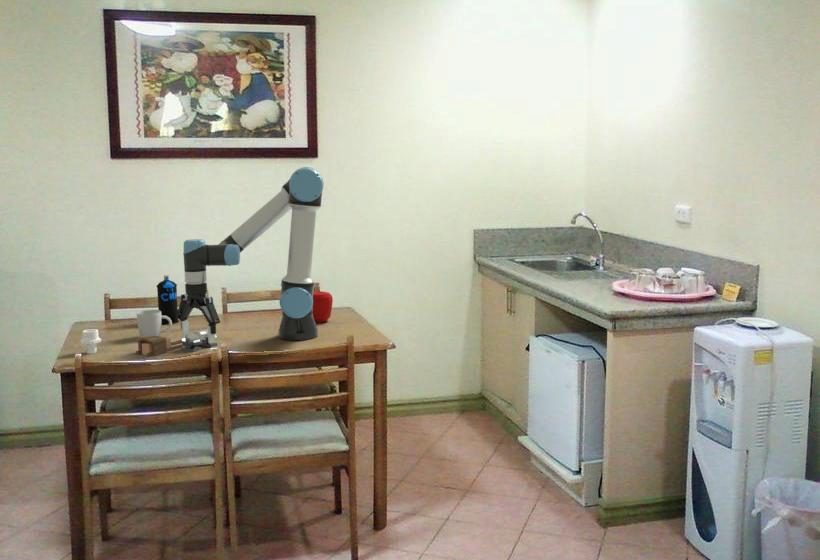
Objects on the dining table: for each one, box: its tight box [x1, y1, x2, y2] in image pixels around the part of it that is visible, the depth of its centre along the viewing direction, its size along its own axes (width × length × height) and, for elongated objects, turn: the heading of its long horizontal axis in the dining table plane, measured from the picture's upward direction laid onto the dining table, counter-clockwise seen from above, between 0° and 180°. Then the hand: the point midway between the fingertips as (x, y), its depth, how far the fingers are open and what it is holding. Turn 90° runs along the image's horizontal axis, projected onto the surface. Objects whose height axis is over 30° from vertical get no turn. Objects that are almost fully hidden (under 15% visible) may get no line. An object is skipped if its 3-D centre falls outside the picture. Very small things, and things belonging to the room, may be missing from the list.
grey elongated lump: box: [185, 328, 208, 345], centre depth 283 cm, size 10×4×4 cm, turn 147°
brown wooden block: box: [141, 337, 172, 356], centre depth 278 cm, size 3×10×4 cm, turn 153°
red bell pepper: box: [313, 289, 334, 324], centre depth 327 cm, size 10×10×14 cm
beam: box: [135, 335, 184, 357], centre depth 281 cm, size 9×21×5 cm, turn 148°
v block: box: [179, 334, 218, 353], centre depth 283 cm, size 7×11×4 cm, turn 148°
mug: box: [136, 309, 173, 337], centre depth 299 cm, size 13×9×10 cm
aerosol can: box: [156, 274, 180, 325], centre depth 325 cm, size 8×8×20 cm
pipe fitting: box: [79, 328, 102, 355], centre depth 276 cm, size 6×7×8 cm
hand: (198, 340), depth 283 cm, fingers open, 13 cm apart
